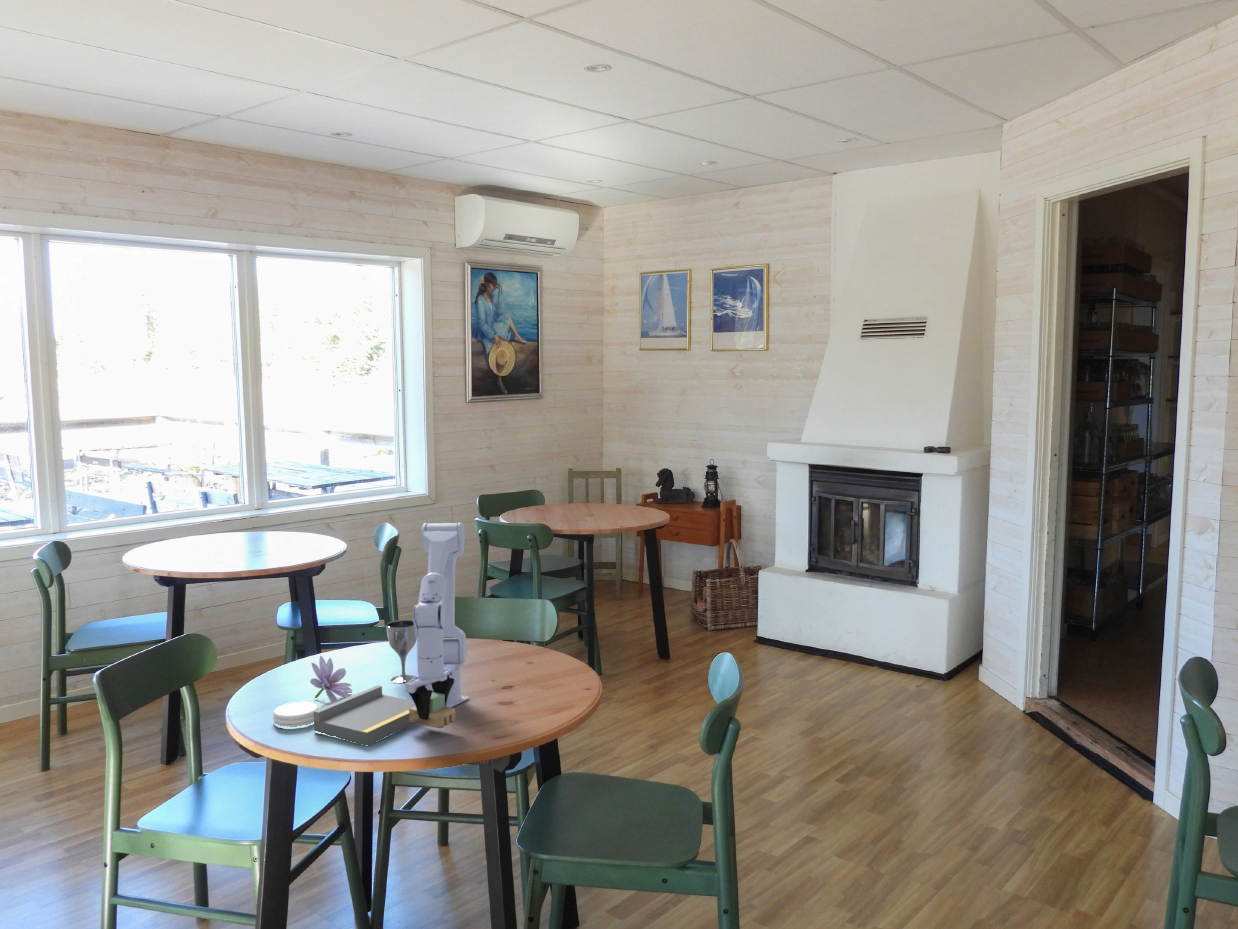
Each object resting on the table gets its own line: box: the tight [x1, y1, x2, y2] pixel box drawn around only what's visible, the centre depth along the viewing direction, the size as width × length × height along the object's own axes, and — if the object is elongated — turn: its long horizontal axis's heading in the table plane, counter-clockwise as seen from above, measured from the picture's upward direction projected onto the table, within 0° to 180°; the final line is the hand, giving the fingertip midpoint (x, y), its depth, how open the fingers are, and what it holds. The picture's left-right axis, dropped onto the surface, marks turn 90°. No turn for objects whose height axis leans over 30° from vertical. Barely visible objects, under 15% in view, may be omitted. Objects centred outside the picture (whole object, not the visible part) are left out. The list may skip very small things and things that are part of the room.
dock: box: [313, 685, 416, 746], centre depth 215 cm, size 16×20×5 cm
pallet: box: [409, 706, 456, 729], centre depth 210 cm, size 9×5×3 cm, turn 61°
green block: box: [429, 692, 445, 713], centre depth 210 cm, size 4×4×3 cm
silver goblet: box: [386, 619, 417, 683], centre depth 246 cm, size 8×8×15 cm
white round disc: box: [272, 701, 320, 727], centre depth 217 cm, size 10×10×4 cm
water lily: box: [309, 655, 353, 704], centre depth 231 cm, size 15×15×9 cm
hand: (432, 714), depth 210 cm, fingers closed on pallet, 5 cm apart
